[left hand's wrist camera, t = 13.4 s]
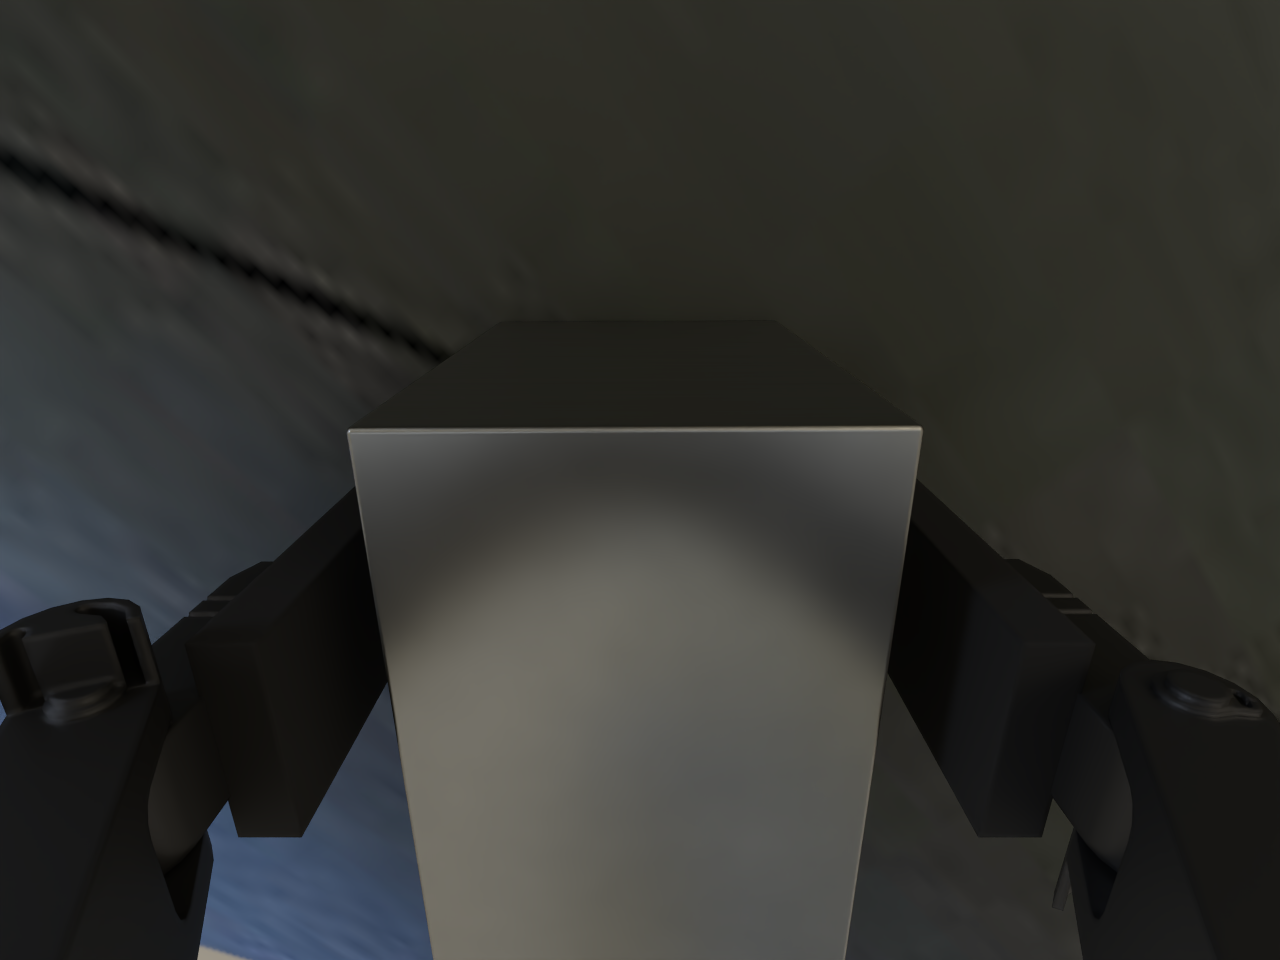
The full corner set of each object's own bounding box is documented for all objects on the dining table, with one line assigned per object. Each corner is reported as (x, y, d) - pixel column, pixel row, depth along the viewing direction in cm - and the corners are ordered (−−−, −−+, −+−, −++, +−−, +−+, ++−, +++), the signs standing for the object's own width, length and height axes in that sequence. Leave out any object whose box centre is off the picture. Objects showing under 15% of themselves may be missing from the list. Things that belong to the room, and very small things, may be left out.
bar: (498, 321, 15) (343, 428, 7) (777, 320, 14) (925, 425, 7) (558, 1099, 24) (521, 1500, 17) (726, 1099, 24) (765, 1501, 17)
